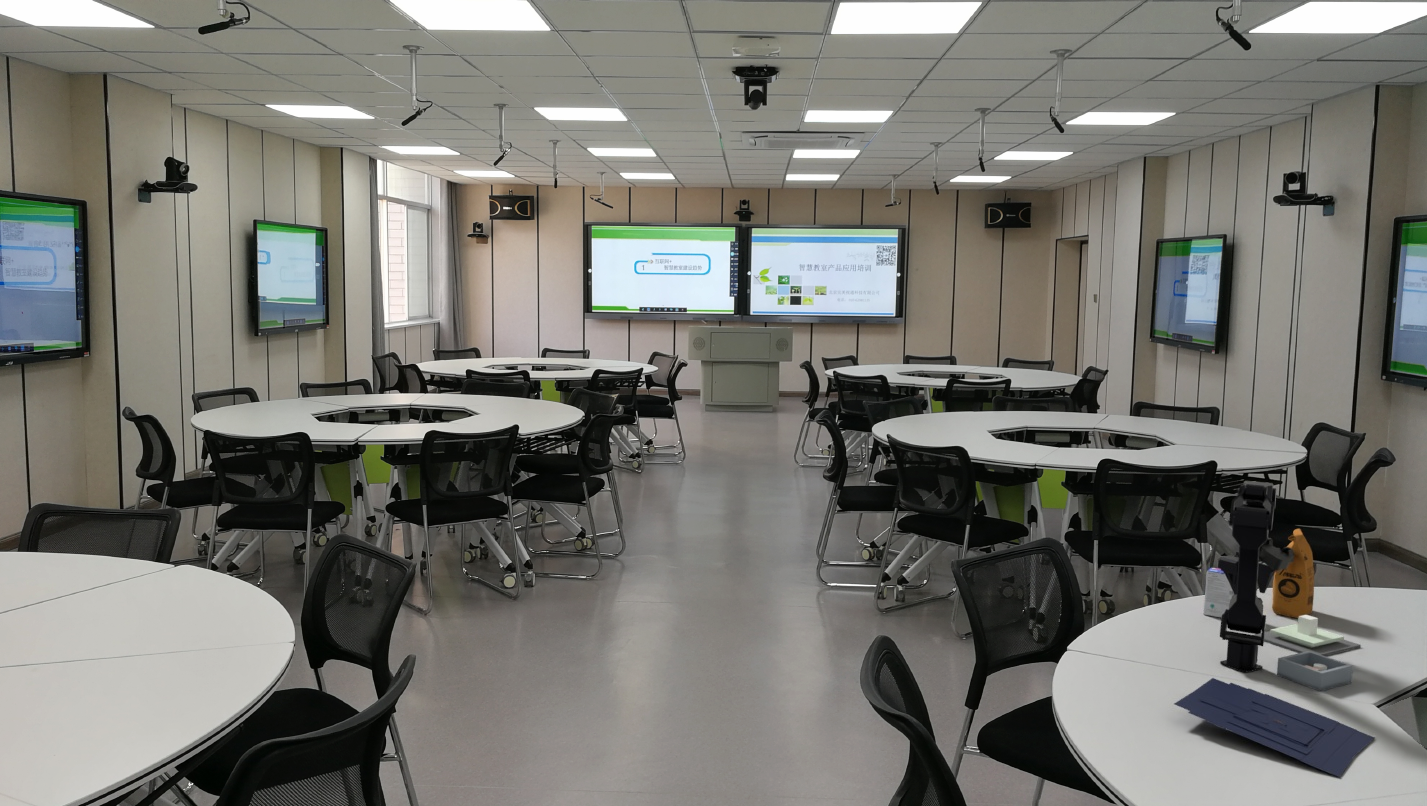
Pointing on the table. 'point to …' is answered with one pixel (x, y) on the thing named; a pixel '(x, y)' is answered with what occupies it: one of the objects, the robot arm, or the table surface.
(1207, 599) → the ink cartridge box
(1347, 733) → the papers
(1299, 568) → the coffee package
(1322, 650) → the rubber mat
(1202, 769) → the table surface
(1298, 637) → the lid
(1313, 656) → the storage box
